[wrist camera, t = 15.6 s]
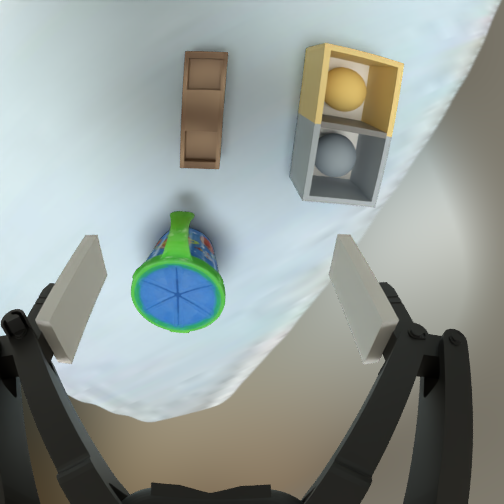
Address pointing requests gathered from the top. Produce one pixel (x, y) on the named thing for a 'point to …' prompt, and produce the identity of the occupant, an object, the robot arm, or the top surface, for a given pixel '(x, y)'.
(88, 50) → the top surface
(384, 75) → the tube block
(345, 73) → the ochre ball
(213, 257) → the snack cup
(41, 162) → the top surface
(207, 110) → the rack
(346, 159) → the slate ball
